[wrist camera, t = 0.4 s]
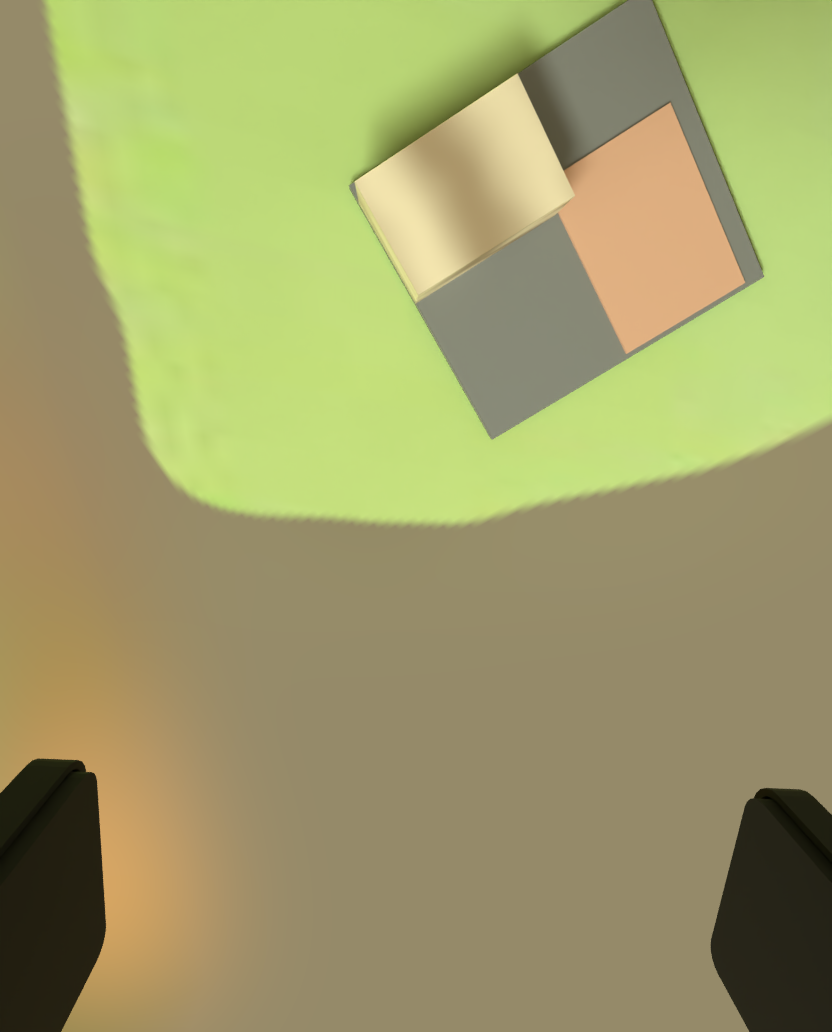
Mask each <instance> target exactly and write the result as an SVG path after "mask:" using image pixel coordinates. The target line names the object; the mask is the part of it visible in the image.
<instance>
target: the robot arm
mask: <svg viewBox="0 0 832 1032" xmlns="http://www.w3.org/2000/svg"><path fill="white" fill-rule="evenodd" d="M105 931H106V920H105V903H104V888H103V871H102V855H101V839H100V823H99V807H98V791H97V780H96V776H95V774H94V773H92V772H86V769H85V765H84V764H83V762H82V761H79V760H58V759H36V760H33V761H31V762H30V763H29V764H28V765H27V766H26V767H25V768H24V769H23V770H22V771H21V772H20V773H19V774H18V775H17V776H16V777H15V778H14V779H13V780H12V782H11V783H10V784H9V785H8V786H7V787H6V788H5V789H4V790H3V791H2V792H1V793H0V1032H61V1031H62V1029H63V1027H64V1024H65V1023H66V1021H67V1019H68V1017H69V1015H70V1013H71V1011H72V1009H73V1007H74V1005H75V1003H76V1001H77V999H78V997H79V995H80V993H81V991H82V989H83V987H84V985H85V983H86V981H87V979H88V977H89V975H90V973H91V971H92V969H93V967H94V965H95V963H96V961H97V958H98V957H99V954H100V952H101V949H102V946H103V942H104V937H105ZM711 954H712V959H713V962H714V965H715V968H716V970H717V973H718V975H719V977H720V978H721V980H722V982H723V984H724V986H725V987H726V989H727V991H728V993H729V995H730V997H731V999H732V1000H733V1002H734V1004H735V1006H736V1007H737V1010H738V1011H739V1013H740V1015H741V1017H742V1019H743V1020H744V1022H745V1024H746V1026H747V1028H748V1030H749V1032H832V815H831V814H830V813H829V812H828V811H827V810H826V809H825V808H824V807H823V806H822V805H821V804H820V803H819V802H818V801H817V800H816V799H815V798H814V797H813V796H811V795H810V794H809V793H808V792H806V791H803V790H799V789H798V790H797V789H773V788H764V789H760V790H759V791H758V792H757V793H756V795H755V797H754V799H750V800H749V801H748V802H747V803H746V805H745V808H744V813H743V816H742V820H741V824H740V828H739V832H738V836H737V840H736V844H735V848H734V852H733V856H732V860H731V864H730V868H729V871H728V875H727V879H726V883H725V888H724V891H723V895H722V899H721V903H720V907H719V911H718V915H717V919H716V923H715V927H714V931H713V934H712V938H711Z"/></svg>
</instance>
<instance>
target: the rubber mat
mask: <svg viewBox="0 0 832 1032" xmlns="http://www.w3.org/2000/svg"><path fill="white" fill-rule="evenodd" d="M518 76H519V78H520V80H521V82H522V84H523V86H524V88H525V90H526V93H527V95H528V97H529V99H530V101H531V103H532V105H533V107H534V110H535V112H536V114H537V116H538V118H539V120H540V122H541V124H542V126H543V129H544V131H545V133H546V135H547V137H548V139H549V141H550V143H551V146H552V148H553V150H554V152H555V154H556V156H557V158H558V160H559V163H560V165H561V167H562V169H563V171H564V173H565V175H566V177H567V179H568V182H569V184H570V186H571V188H572V190H573V192H574V194H575V196H574V197H573V198H572V199H571V200H570V201H569V202H568V203H567V204H566V205H565V206H564V207H563V208H562V209H561V210H560V211H559V212H558V213H557V214H556V215H555V216H553V217H552V218H550V219H549V220H547V221H545V222H544V223H542V224H541V225H539V226H538V227H536V228H534V229H533V230H531V231H530V232H528V233H527V234H525V235H523V236H522V237H520V238H519V239H517V240H515V241H514V242H512V243H511V244H509V245H508V246H506V247H504V248H503V249H501V250H500V251H498V252H497V253H495V254H493V255H492V256H490V257H489V258H487V259H485V260H484V261H482V262H481V263H479V264H478V265H476V266H474V267H473V268H471V269H470V270H468V271H467V272H465V273H463V274H462V275H460V276H459V277H457V278H455V279H454V280H452V281H451V282H449V283H448V284H446V285H444V286H443V287H441V288H440V289H438V290H436V291H435V292H433V293H432V294H430V295H429V296H427V297H425V298H424V299H422V300H421V301H419V302H418V303H415V302H414V300H413V298H412V296H411V295H410V293H409V291H408V289H407V287H406V286H405V284H404V282H403V280H402V279H401V277H400V275H399V273H398V272H397V270H396V268H395V266H394V264H393V263H392V261H391V259H390V257H389V256H388V254H387V252H386V250H385V249H384V247H383V245H382V243H381V241H380V240H379V238H378V236H377V234H376V233H375V231H374V229H373V227H372V225H371V224H370V222H369V220H368V218H367V217H366V215H365V213H364V211H363V210H362V208H361V206H360V204H359V201H358V196H357V191H356V186H355V182H353V183H352V184H350V185H349V188H350V190H351V192H352V194H353V196H354V197H355V199H356V201H357V203H358V205H359V206H360V208H361V210H362V212H363V213H364V215H365V217H366V219H367V220H368V222H369V224H370V226H371V228H372V229H373V231H374V233H375V235H376V236H377V238H378V240H379V242H380V243H381V245H382V247H383V249H384V251H385V252H386V254H387V256H388V258H389V259H390V261H391V263H392V265H393V266H394V268H395V270H396V272H397V274H398V275H399V277H400V279H401V281H402V282H403V284H404V286H405V288H406V289H407V291H408V293H409V295H410V297H411V298H412V300H413V302H414V304H415V305H416V307H417V309H418V311H419V312H420V314H421V316H422V318H423V320H424V321H425V323H426V325H427V327H428V328H429V330H430V332H431V334H432V336H433V337H434V339H435V341H436V343H437V344H438V346H439V348H440V350H441V351H442V353H443V355H444V357H445V359H446V360H447V362H448V364H449V366H450V367H451V369H452V371H453V373H454V374H455V376H456V378H457V380H458V382H459V383H460V385H461V387H462V389H463V390H464V392H465V394H466V396H467V397H468V399H469V401H470V403H471V405H472V406H473V408H474V410H475V412H476V413H477V415H478V417H479V419H480V420H481V422H482V424H483V426H484V428H485V429H486V431H487V433H488V435H489V436H490V438H491V439H494V438H496V437H497V436H499V435H501V434H502V433H504V432H506V431H507V430H509V429H511V428H512V427H514V426H516V425H517V424H519V423H521V422H522V421H524V420H526V419H527V418H529V417H531V416H532V415H534V414H536V413H537V412H539V411H541V410H542V409H544V408H546V407H547V406H549V405H551V404H552V403H554V402H556V401H557V400H559V399H561V398H562V397H564V396H566V395H568V394H569V393H571V392H573V391H574V390H576V389H578V388H579V387H581V386H583V385H584V384H586V383H588V382H589V381H591V380H593V379H594V378H596V377H598V376H599V375H601V374H603V373H604V372H606V371H608V370H609V369H611V368H613V367H614V366H616V365H618V364H619V363H621V362H623V361H624V360H626V359H628V358H629V357H631V356H633V355H634V354H636V353H638V352H639V351H641V350H643V349H644V348H646V347H648V346H649V345H651V344H653V343H654V342H656V341H658V340H659V339H661V338H663V337H664V336H666V335H668V334H669V333H671V332H673V331H674V330H676V329H678V328H679V327H681V326H683V325H684V324H686V323H688V322H689V321H691V320H693V319H694V318H696V317H698V316H699V315H701V314H703V313H704V312H706V311H708V310H709V309H711V308H713V307H715V306H716V305H718V304H720V303H721V302H723V301H725V300H726V299H728V298H730V297H731V296H733V295H735V294H736V293H738V292H740V291H741V290H743V289H745V288H746V287H748V286H750V285H751V284H753V283H755V282H756V281H758V280H760V279H761V278H763V277H764V275H763V272H762V270H761V267H760V265H759V263H758V260H757V258H756V255H755V253H754V250H753V248H752V245H751V243H750V240H749V238H748V235H747V233H746V231H745V228H744V226H743V223H742V221H741V218H740V216H739V213H738V211H737V208H736V206H735V203H734V201H733V199H732V196H731V194H730V191H729V189H728V186H727V184H726V181H725V179H724V176H723V174H722V171H721V169H720V167H719V164H718V162H717V159H716V157H715V154H714V152H713V149H712V147H711V144H710V142H709V139H708V137H707V135H706V132H705V130H704V127H703V125H702V122H701V120H700V117H699V115H698V112H697V110H696V107H695V105H694V103H693V100H692V98H691V95H690V93H689V90H688V88H687V85H686V83H685V80H684V78H683V75H682V73H681V71H680V68H679V66H678V63H677V61H676V58H675V56H674V53H673V51H672V48H671V46H670V43H669V41H668V39H667V36H666V34H665V31H664V29H663V26H662V24H661V21H660V19H659V16H658V14H657V11H656V9H655V7H654V4H653V2H652V0H628V1H626V2H625V3H623V4H622V5H620V6H619V7H617V8H616V9H614V10H613V11H611V12H610V13H608V14H607V15H605V16H604V17H602V18H601V19H599V20H598V21H596V22H595V23H593V24H592V25H590V26H589V27H587V28H585V29H584V30H582V31H581V32H579V33H578V34H576V35H575V36H573V37H572V38H570V39H569V40H567V41H566V42H564V43H563V44H561V45H560V46H558V47H557V48H555V49H554V50H552V51H551V52H549V53H548V54H546V55H545V56H543V57H542V58H540V59H539V60H537V61H536V62H534V63H533V64H531V65H530V66H528V67H527V68H525V69H524V70H522V71H521V72H519V73H518Z"/></svg>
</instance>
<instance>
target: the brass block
mask: <svg viewBox="0 0 832 1032" xmlns="http://www.w3.org/2000/svg"><path fill="white" fill-rule="evenodd" d="M355 186H356V191H357V196H358V201H359V204H360V206H361V208H362V210H363V211H364V213H365V215H366V217H367V218H368V220H369V222H370V224H371V225H372V227H373V229H374V231H375V233H376V234H377V236H378V238H379V240H380V241H381V243H382V245H383V247H384V249H385V250H386V252H387V254H388V256H389V257H390V259H391V261H392V263H393V264H394V266H395V268H396V270H397V272H398V273H399V275H400V277H401V279H402V280H403V282H404V284H405V286H406V287H407V289H408V291H409V293H410V295H411V296H412V298H413V300H414V302H415V303H418V302H419V301H421V300H422V299H424V298H425V297H427V296H429V295H430V294H432V293H433V292H435V291H436V290H438V289H440V288H441V287H443V286H444V285H446V284H448V283H449V282H451V281H452V280H454V279H455V278H457V277H459V276H460V275H462V274H463V273H465V272H467V271H468V270H470V269H471V268H473V267H474V266H476V265H478V264H479V263H481V262H482V261H484V260H485V259H487V258H489V257H490V256H492V255H493V254H495V253H497V252H498V251H500V250H501V249H503V248H504V247H506V246H508V245H509V244H511V243H512V242H514V241H515V240H517V239H519V238H520V237H522V236H523V235H525V234H527V233H528V232H530V231H531V230H533V229H534V228H536V227H538V226H539V225H541V224H542V223H544V222H545V221H547V220H549V219H550V218H552V217H553V216H555V215H556V214H557V213H558V212H559V211H560V210H561V209H562V208H563V207H564V206H565V205H566V204H567V203H568V202H569V201H570V200H571V199H572V198H573V197H574V196H575V194H574V192H573V190H572V188H571V186H570V184H569V182H568V179H567V177H566V175H565V173H564V171H563V169H562V167H561V165H560V163H559V160H558V158H557V156H556V154H555V152H554V150H553V148H552V146H551V143H550V141H549V139H548V137H547V135H546V133H545V131H544V129H543V126H542V124H541V122H540V120H539V118H538V116H537V114H536V112H535V110H534V107H533V105H532V103H531V101H530V99H529V97H528V95H527V93H526V90H525V88H524V86H523V84H522V82H521V80H520V78H519V76H518V73H517V74H515V75H514V76H512V77H511V78H509V79H508V80H506V81H505V82H503V83H502V84H500V85H499V86H497V87H496V88H494V89H493V90H491V91H490V92H488V93H487V94H485V95H484V96H482V97H481V98H479V99H478V100H476V101H475V102H473V103H472V104H470V105H469V106H467V107H466V108H464V109H463V110H461V111H460V112H458V113H457V114H455V115H454V116H452V117H451V118H449V119H448V120H446V121H445V122H443V123H442V124H440V125H439V126H437V127H436V128H434V129H433V130H431V131H430V132H428V133H427V134H425V135H424V136H422V137H421V138H419V139H418V140H416V141H415V142H413V143H412V144H410V145H408V146H407V147H405V148H404V149H402V150H401V151H399V152H398V153H396V154H395V155H393V156H392V157H390V158H389V159H387V160H386V161H384V162H383V163H381V164H380V165H378V166H377V167H375V168H374V169H372V170H371V171H369V172H368V173H366V174H365V175H363V176H362V177H360V178H359V179H357V180H356V181H355Z"/></svg>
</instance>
